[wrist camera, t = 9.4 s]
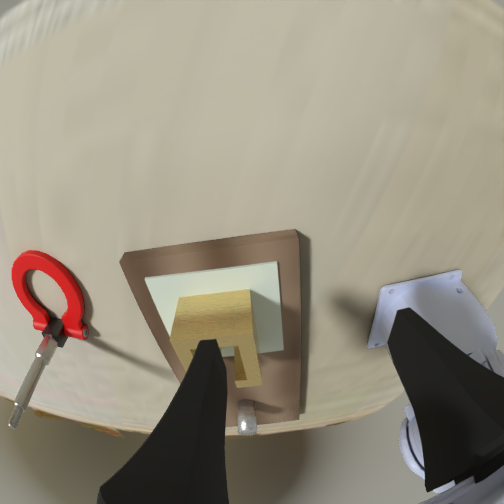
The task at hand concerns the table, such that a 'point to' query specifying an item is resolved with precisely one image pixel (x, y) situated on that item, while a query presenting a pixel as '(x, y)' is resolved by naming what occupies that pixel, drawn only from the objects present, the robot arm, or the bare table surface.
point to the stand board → (272, 363)
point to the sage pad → (225, 280)
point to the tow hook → (45, 319)
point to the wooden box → (220, 331)
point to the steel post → (246, 417)
